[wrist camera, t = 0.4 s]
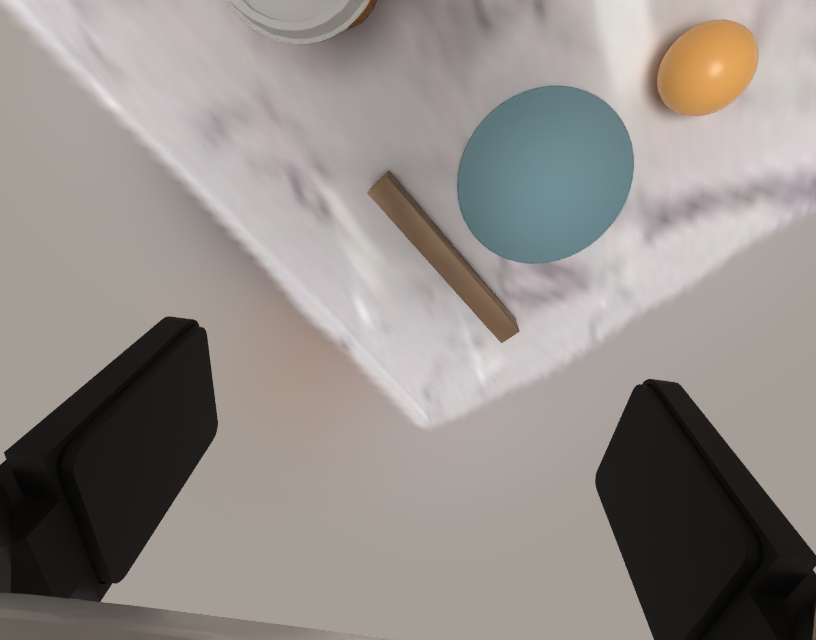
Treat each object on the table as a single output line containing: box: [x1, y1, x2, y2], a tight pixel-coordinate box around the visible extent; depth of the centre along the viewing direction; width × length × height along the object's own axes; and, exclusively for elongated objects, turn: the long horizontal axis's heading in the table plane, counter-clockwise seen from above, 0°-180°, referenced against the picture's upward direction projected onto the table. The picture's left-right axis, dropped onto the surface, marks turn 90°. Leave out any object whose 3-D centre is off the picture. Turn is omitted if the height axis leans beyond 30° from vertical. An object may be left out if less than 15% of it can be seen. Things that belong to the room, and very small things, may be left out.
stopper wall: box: [368, 171, 519, 343], centre depth 39 cm, size 2×18×2 cm, turn 41°
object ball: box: [657, 20, 759, 116], centre depth 29 cm, size 6×6×6 cm
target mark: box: [457, 86, 634, 263], centre depth 36 cm, size 14×14×1 cm
